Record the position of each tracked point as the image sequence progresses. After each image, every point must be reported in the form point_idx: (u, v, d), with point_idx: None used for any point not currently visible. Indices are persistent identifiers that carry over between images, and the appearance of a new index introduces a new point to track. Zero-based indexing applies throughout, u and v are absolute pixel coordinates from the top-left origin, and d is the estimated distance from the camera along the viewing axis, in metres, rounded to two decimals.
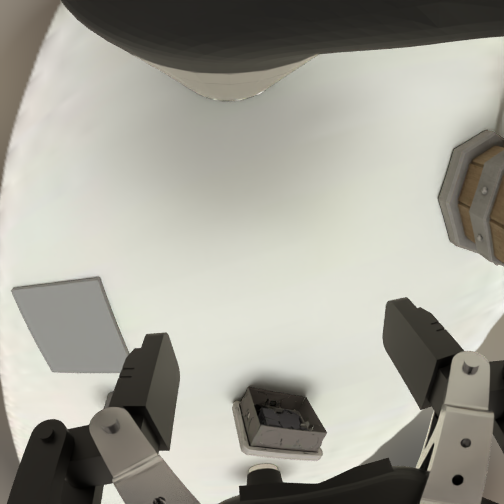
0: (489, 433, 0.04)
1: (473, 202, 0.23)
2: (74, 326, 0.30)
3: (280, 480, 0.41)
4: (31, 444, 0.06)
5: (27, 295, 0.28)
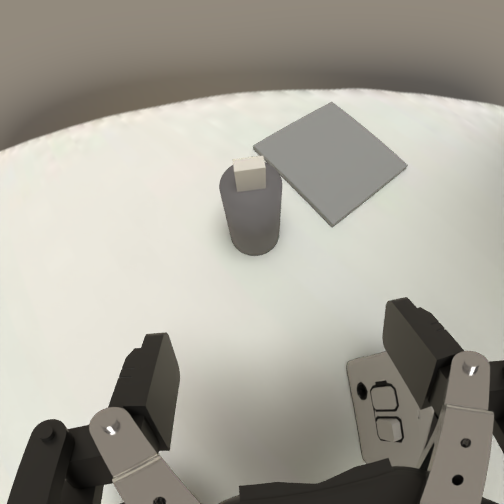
0: (490, 433, 0.04)
1: None
2: (345, 155, 0.32)
3: None
4: (31, 445, 0.06)
5: (341, 114, 0.35)
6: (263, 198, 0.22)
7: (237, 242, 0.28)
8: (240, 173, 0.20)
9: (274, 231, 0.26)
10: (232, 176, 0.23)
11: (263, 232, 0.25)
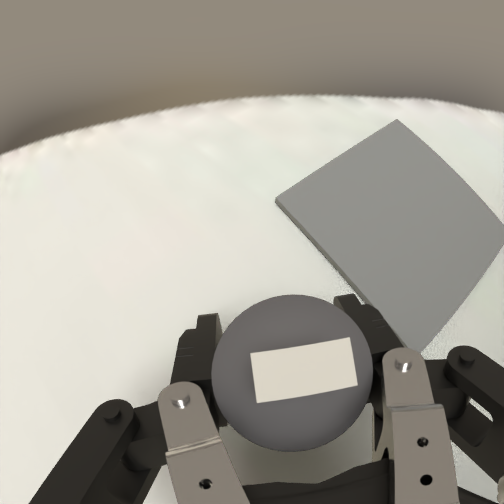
0: (444, 426, 0.05)
1: None
2: (431, 219, 0.18)
3: None
4: (92, 421, 0.07)
5: (414, 142, 0.20)
6: (327, 416, 0.08)
7: None
8: None
9: None
10: (245, 346, 0.09)
11: None
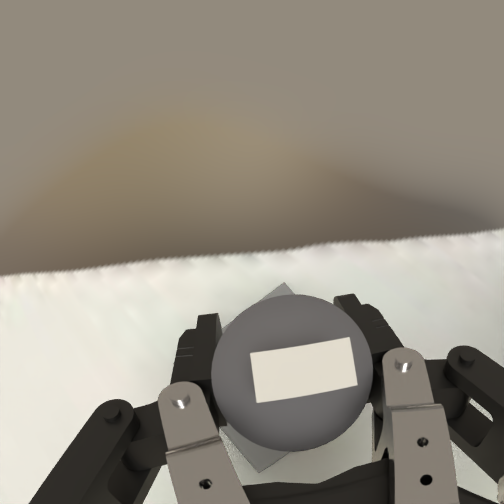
0: (444, 426, 0.05)
1: None
2: None
3: None
4: (92, 421, 0.07)
5: None
6: (327, 415, 0.08)
7: None
8: None
9: None
10: (245, 346, 0.09)
11: None
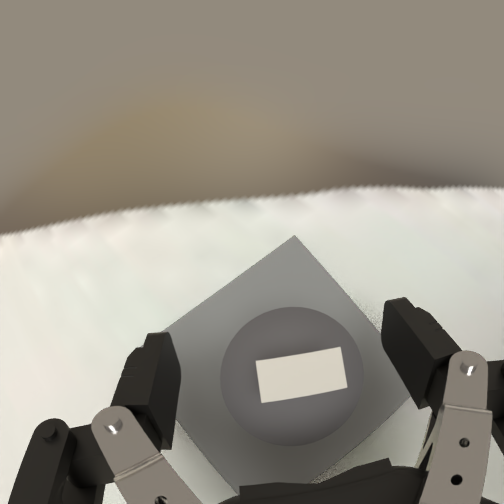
0: (488, 432, 0.04)
1: None
2: None
3: None
4: (33, 444, 0.06)
5: (309, 271, 0.19)
6: (323, 414, 0.09)
7: None
8: None
9: None
10: (250, 353, 0.10)
11: None
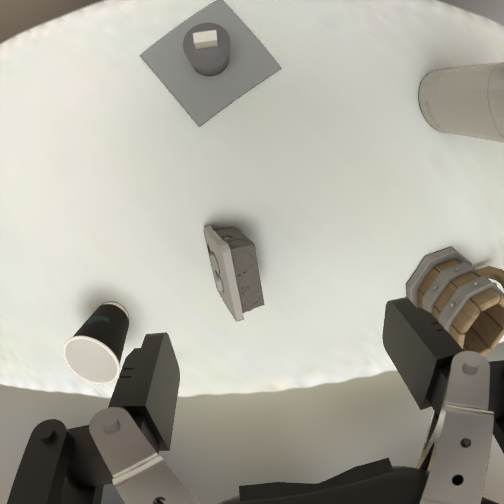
0: (490, 433, 0.04)
1: (446, 269, 0.40)
2: None
3: None
4: (31, 444, 0.06)
5: (226, 13, 0.30)
6: (215, 54, 0.26)
7: (196, 70, 0.31)
8: (198, 43, 0.23)
9: (224, 65, 0.30)
10: (192, 36, 0.25)
11: (215, 68, 0.29)
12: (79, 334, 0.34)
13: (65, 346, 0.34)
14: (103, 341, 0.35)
